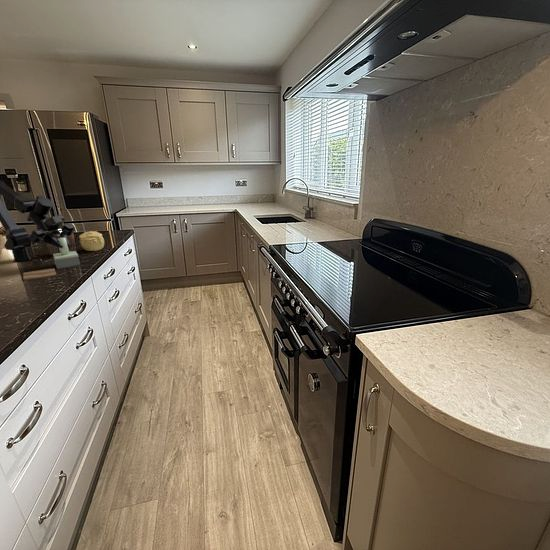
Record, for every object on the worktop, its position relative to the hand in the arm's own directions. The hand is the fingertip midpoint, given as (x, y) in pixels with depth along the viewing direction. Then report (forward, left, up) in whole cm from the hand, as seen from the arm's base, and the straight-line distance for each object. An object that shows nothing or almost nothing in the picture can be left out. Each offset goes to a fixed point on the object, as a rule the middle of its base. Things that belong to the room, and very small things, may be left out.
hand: (65, 246), depth 139 cm
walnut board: (+8, -12, -9) cm, 17 cm away
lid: (-1, -1, -5) cm, 6 cm away
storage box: (-1, -1, -9) cm, 9 cm away
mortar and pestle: (-25, +2, -9) cm, 27 cm away
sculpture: (-27, +14, -9) cm, 32 cm away
